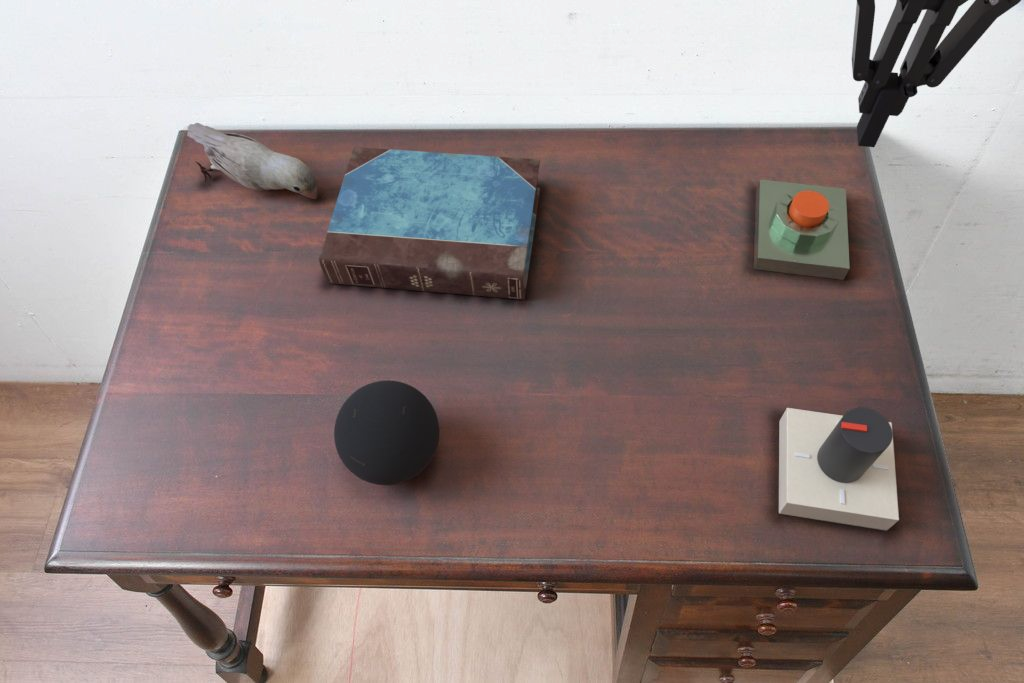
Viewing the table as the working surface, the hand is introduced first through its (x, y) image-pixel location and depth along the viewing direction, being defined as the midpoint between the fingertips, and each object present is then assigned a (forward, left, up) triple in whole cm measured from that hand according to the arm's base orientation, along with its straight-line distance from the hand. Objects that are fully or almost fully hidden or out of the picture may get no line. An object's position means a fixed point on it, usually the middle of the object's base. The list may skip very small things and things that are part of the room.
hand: (865, 136), depth 77 cm
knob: (-27, -2, -15) cm, 31 cm away
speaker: (-32, +41, -19) cm, 56 cm away
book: (-4, +44, -19) cm, 47 cm away
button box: (+3, +1, -18) cm, 19 cm away
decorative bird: (+1, +67, -19) cm, 70 cm away
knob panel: (-27, -2, -18) cm, 33 cm away
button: (+3, +1, -15) cm, 15 cm away
